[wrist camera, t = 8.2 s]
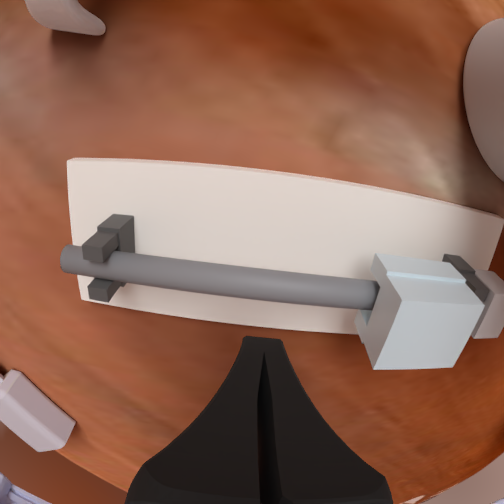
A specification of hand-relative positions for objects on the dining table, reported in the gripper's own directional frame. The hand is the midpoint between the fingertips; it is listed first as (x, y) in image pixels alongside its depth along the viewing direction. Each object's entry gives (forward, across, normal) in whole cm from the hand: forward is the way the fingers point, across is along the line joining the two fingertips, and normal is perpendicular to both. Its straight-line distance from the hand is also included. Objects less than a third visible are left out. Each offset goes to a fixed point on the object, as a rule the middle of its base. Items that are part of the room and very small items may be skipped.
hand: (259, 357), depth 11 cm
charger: (+10, +27, +22) cm, 36 cm away
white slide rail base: (+9, -2, 0) cm, 10 cm away
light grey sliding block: (+6, -8, 0) cm, 10 cm away
